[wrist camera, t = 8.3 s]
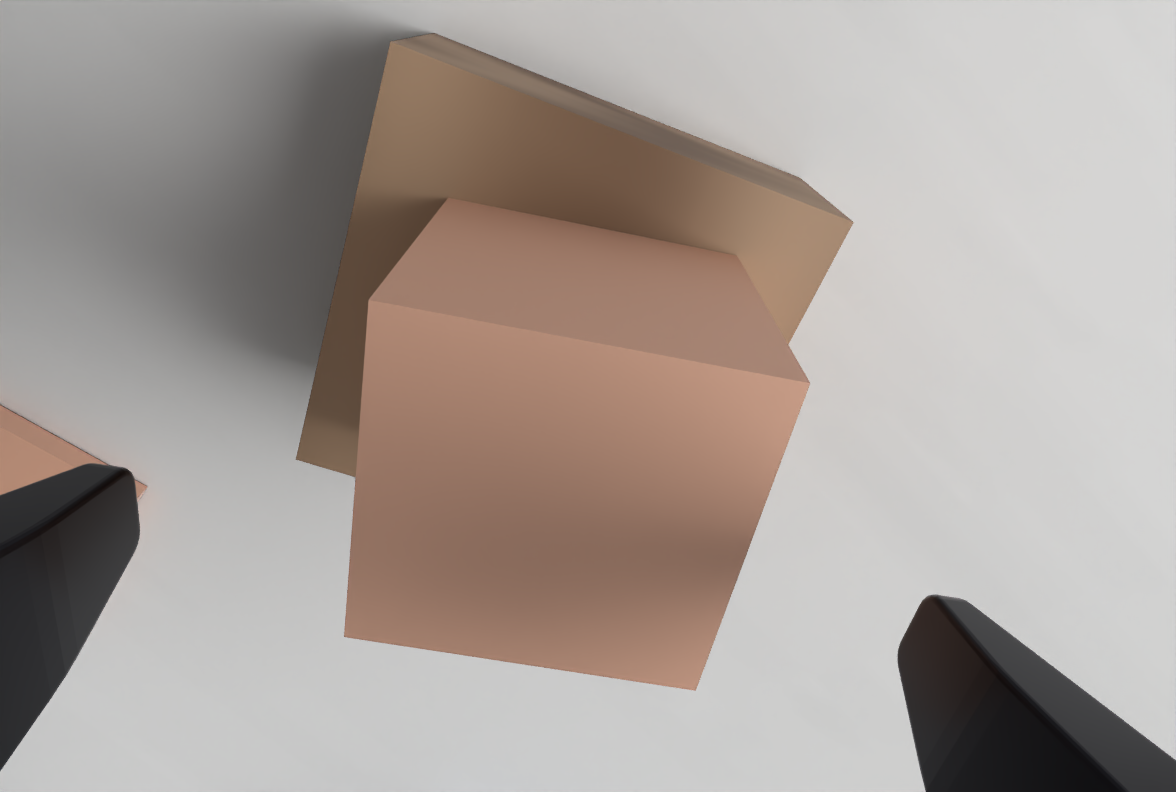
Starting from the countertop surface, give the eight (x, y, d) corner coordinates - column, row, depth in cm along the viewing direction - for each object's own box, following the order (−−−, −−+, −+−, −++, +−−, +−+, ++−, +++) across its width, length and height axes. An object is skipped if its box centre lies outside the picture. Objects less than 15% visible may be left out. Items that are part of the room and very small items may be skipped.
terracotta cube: (419, 449, 15) (344, 637, 10) (448, 197, 13) (368, 300, 8) (666, 492, 15) (695, 690, 11) (737, 255, 13) (810, 382, 9)
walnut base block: (351, 372, 19) (296, 459, 15) (437, 32, 15) (390, 41, 12) (654, 467, 20) (668, 569, 16) (796, 174, 16) (853, 222, 13)
